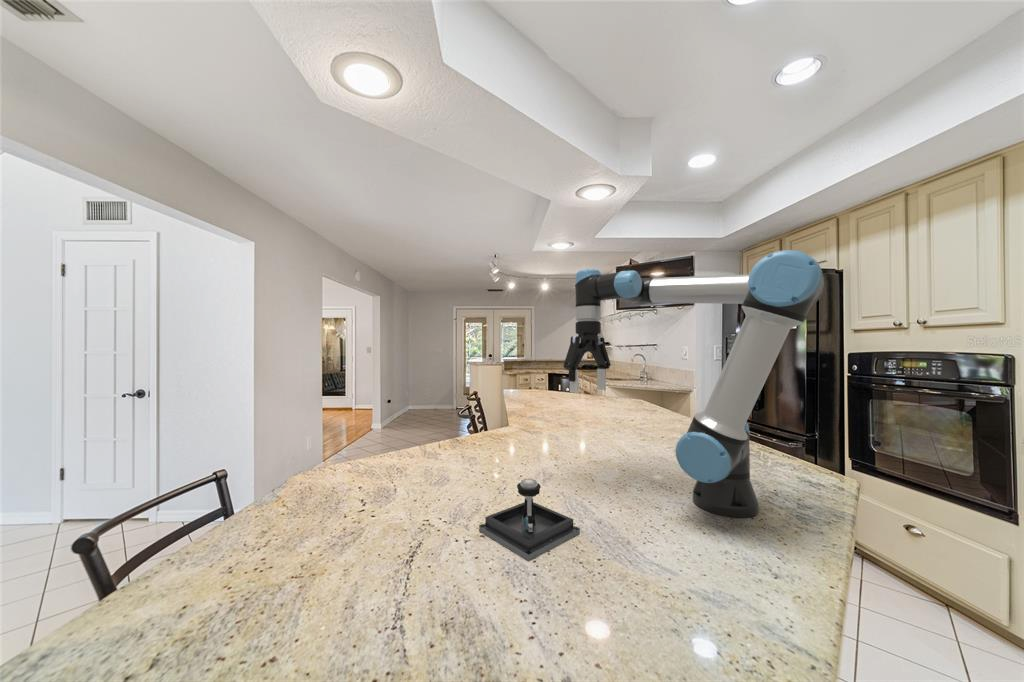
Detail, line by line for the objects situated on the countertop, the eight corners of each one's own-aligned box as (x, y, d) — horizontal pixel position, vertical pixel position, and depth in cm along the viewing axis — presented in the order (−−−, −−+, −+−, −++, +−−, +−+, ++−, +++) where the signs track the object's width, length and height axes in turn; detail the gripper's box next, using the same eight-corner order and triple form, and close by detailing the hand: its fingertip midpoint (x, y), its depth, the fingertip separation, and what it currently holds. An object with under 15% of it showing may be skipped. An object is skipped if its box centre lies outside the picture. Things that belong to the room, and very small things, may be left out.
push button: (542, 534, 80) (542, 487, 80) (518, 534, 80) (518, 487, 80) (539, 520, 87) (539, 477, 87) (516, 520, 86) (516, 477, 87)
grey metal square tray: (579, 533, 83) (579, 519, 83) (528, 561, 72) (528, 544, 72) (529, 510, 95) (529, 498, 95) (479, 531, 84) (479, 516, 84)
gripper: (601, 323, 124) (601, 387, 123) (551, 319, 107) (551, 393, 106) (621, 322, 118) (621, 389, 117) (571, 317, 101) (571, 395, 101)
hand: (588, 391), depth 112 cm, fingers open, 13 cm apart
